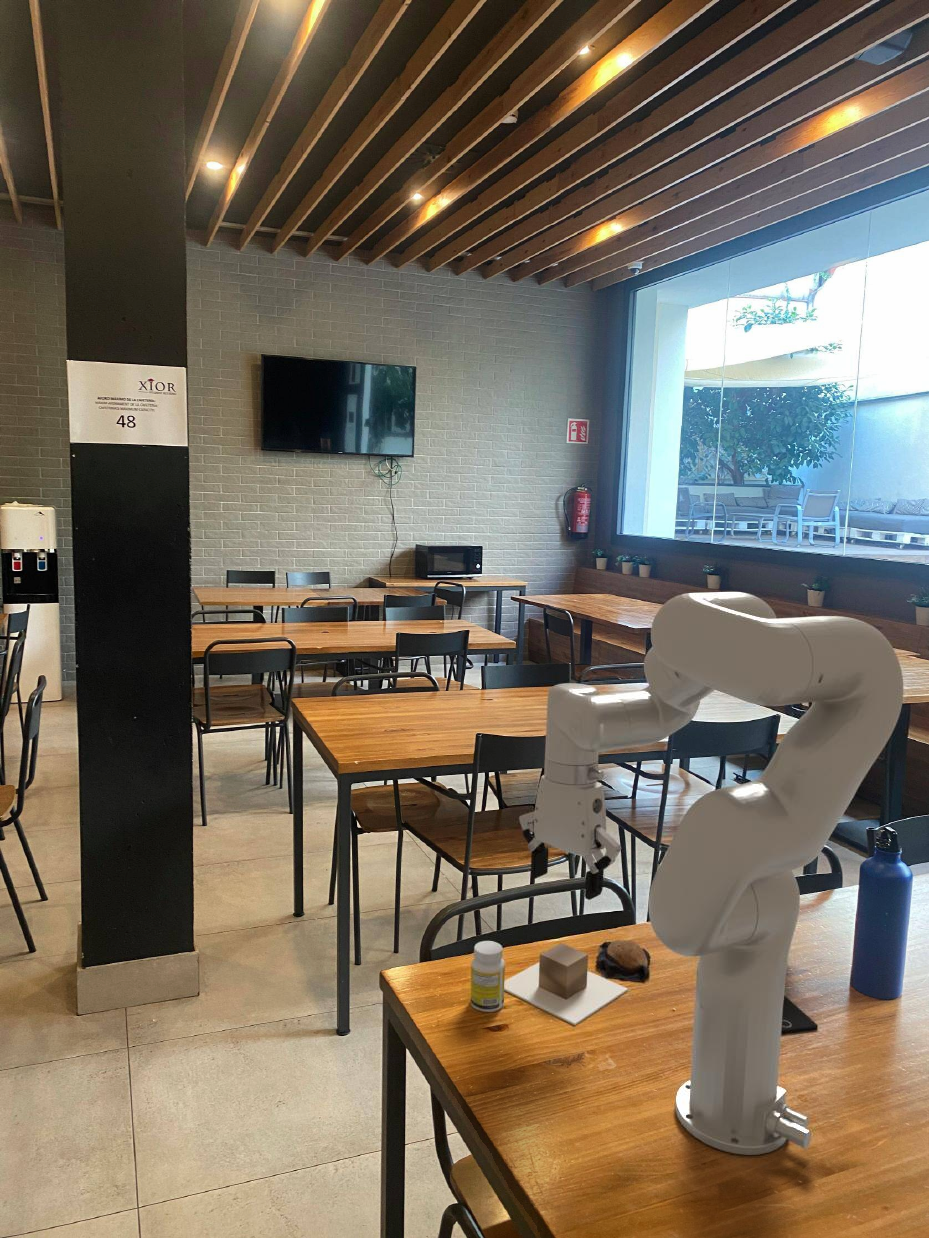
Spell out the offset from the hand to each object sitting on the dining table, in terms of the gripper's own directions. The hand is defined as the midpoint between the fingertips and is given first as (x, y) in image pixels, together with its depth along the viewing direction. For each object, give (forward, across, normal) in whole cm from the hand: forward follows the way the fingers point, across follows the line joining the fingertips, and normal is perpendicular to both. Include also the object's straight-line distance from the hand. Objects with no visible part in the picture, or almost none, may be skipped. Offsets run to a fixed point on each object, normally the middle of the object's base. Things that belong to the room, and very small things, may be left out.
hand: (565, 885), depth 129 cm
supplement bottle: (+16, +5, +11) cm, 20 cm away
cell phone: (+16, -21, -18) cm, 32 cm away
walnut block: (+15, 0, 0) cm, 15 cm away
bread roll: (+16, -2, -13) cm, 21 cm away
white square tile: (+16, 0, 0) cm, 16 cm away
